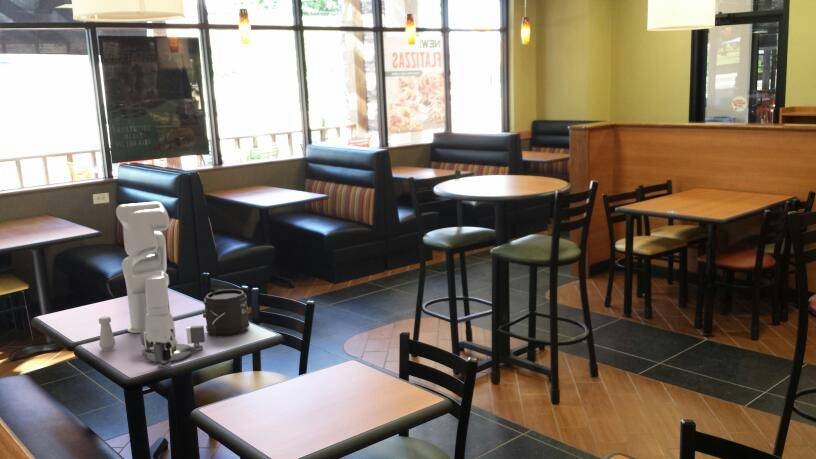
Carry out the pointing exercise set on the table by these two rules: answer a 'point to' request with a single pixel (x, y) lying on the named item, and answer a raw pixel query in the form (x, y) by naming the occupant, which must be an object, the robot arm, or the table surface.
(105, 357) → the table surface
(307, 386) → the table surface
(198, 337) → the knob near left
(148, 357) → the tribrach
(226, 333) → the wooden barrel
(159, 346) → the knob front
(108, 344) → the salt shaker
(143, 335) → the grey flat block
